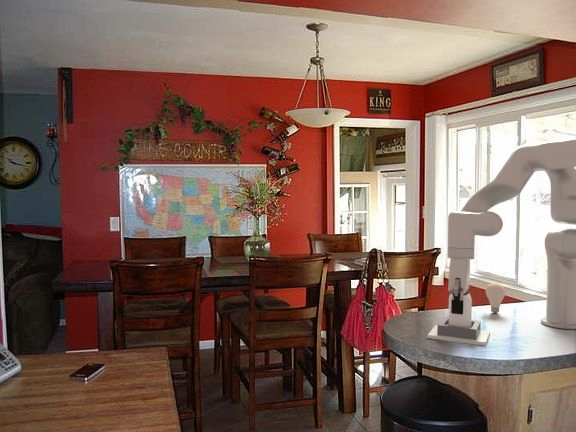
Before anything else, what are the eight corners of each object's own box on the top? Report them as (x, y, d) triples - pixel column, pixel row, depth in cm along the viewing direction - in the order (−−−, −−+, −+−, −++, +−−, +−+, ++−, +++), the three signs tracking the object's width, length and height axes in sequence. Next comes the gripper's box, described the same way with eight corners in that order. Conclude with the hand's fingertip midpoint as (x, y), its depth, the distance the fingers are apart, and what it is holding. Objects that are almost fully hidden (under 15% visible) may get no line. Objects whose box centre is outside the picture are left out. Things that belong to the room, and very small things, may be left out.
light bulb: (481, 311, 180) (481, 281, 180) (496, 310, 182) (496, 280, 182) (493, 316, 174) (494, 284, 173) (509, 314, 176) (509, 283, 175)
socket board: (490, 334, 150) (490, 321, 150) (485, 345, 139) (485, 331, 139) (435, 327, 158) (436, 315, 157) (427, 338, 146) (427, 324, 146)
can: (445, 329, 151) (445, 291, 151) (465, 329, 152) (466, 290, 151) (453, 336, 145) (453, 295, 144) (474, 335, 145) (475, 295, 145)
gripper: (452, 249, 157) (451, 303, 157) (442, 255, 141) (441, 315, 142) (477, 251, 153) (476, 306, 154) (470, 257, 138) (469, 318, 138)
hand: (459, 310), depth 148 cm, fingers open, 9 cm apart
